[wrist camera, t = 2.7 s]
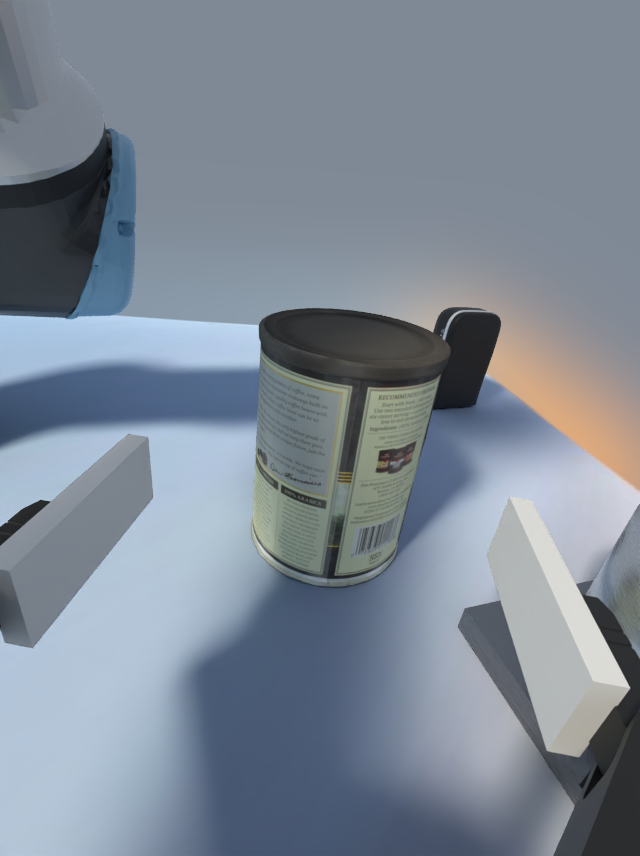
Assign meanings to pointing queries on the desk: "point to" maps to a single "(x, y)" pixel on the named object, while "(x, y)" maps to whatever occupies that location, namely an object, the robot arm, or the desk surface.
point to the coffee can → (339, 439)
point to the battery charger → (465, 353)
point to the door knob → (492, 643)
